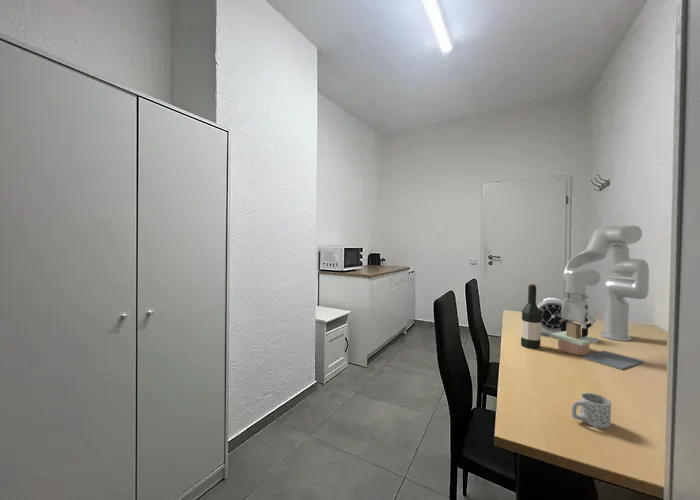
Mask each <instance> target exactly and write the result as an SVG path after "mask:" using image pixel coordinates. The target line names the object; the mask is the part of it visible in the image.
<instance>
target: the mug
mask: <svg viewBox="0 0 700 500" xmlns="http://www.w3.org/2000/svg"><path fill="white" fill-rule="evenodd" d="M571 405H572V406H571V416H572V418H573V419H574V420H579V421H582V422H583V423H585V424H586V425H588V426H590V427H593V428H597V429H599V430H608V429H610V428H611V418H612V416H611V415H612V414H611V412H612V411H611V410H612V402H611V400H609V398H606V397H605V396H602V395H600V394H596V393H593V392H592V393H591V392H584V393H581V394H580V400H577V401H575V402H572V404H571ZM579 406H580V413H579V414H577V409H578V407H579Z"/></svg>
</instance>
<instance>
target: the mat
mask: <svg viewBox="0 0 700 500" xmlns="http://www.w3.org/2000/svg"><path fill="white" fill-rule="evenodd" d="M582 359H586V360H588V361H592V362H595V363H598V364H600V365H605V366H607V367H610V368H615V369H616V370H620V371H623V370H625V369H630V368H632V367H635V366H638V365H640V364H644V362H645V361H644V360H640V359H636V358H634V357H630V356H626V355H623V354H619V353H615V352H612V351H608V350H600V351H598V352H597V351H596V352H593V353H589V354H588V355H582Z"/></svg>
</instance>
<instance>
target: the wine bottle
mask: <svg viewBox="0 0 700 500" xmlns="http://www.w3.org/2000/svg"><path fill="white" fill-rule="evenodd" d="M527 291H528V293H527V297H528V298H527V303H526V305H525V306H524V308H523V309H522V310H521V329H520V330H521V332H520V333H521V334H520V345H521V347H523V348H525V349H528V350H529V349H530V350H539V349H541V340H542V339H541V337H542V336H541V312H540V310H539V309H538V307H537V305H538V304H537V285H536V284H533V283H530V284H529V285H528V289H527Z"/></svg>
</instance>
